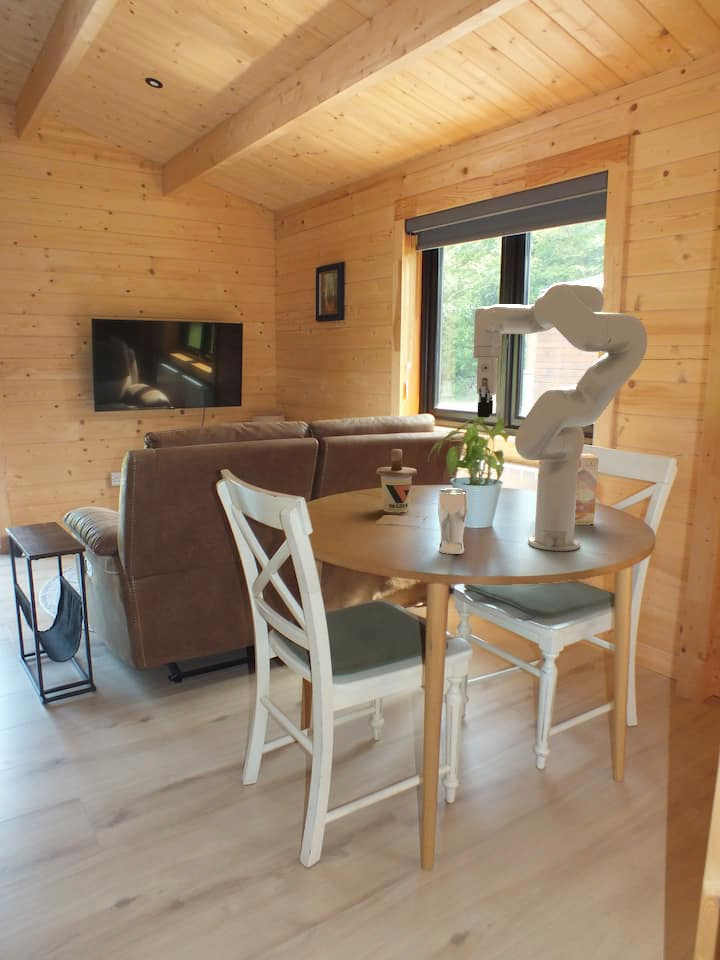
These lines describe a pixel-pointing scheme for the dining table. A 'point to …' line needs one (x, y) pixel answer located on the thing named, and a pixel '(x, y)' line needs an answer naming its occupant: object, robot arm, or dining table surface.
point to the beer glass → (452, 519)
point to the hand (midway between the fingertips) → (485, 415)
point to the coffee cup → (396, 493)
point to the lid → (396, 466)
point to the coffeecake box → (585, 489)
